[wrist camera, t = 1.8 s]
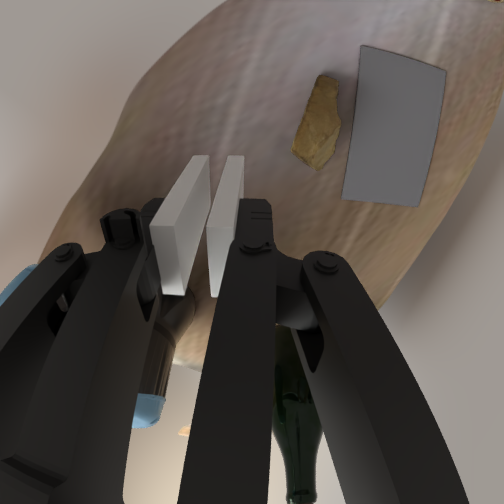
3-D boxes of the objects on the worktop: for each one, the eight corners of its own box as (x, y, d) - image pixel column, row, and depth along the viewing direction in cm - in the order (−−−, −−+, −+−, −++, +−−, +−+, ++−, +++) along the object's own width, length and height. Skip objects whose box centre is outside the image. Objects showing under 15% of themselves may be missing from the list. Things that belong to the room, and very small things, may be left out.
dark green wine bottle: (259, 350, 56) (257, 513, 30) (271, 316, 50) (274, 512, 23) (309, 354, 57) (322, 509, 30) (327, 322, 51) (352, 504, 24)
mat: (340, 198, 36) (341, 199, 36) (360, 45, 24) (361, 45, 24) (416, 206, 36) (417, 207, 36) (444, 71, 24) (446, 71, 24)
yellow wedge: (310, 50, 24) (248, 117, 27) (374, 81, 20) (301, 161, 23) (346, 102, 32) (297, 156, 36) (397, 136, 28) (342, 197, 32)
